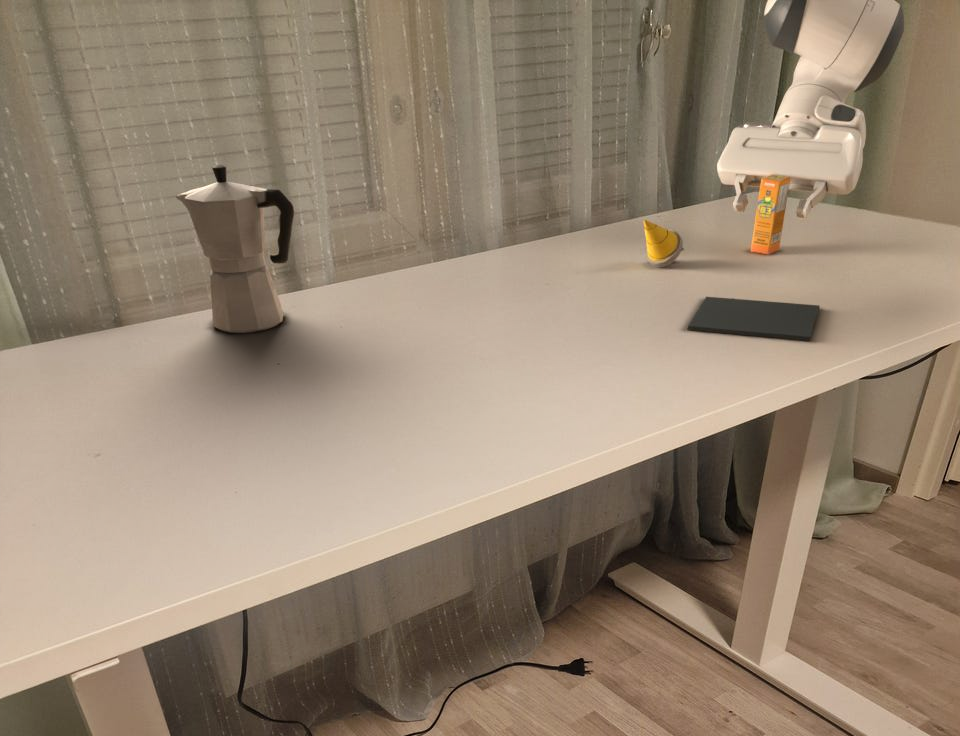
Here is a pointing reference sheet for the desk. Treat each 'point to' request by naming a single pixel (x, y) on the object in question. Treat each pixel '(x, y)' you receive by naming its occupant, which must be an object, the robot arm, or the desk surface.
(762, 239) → the supplement box
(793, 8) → the robot arm
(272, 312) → the coffeepot
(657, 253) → the yellow cone on disc
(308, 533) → the desk surface
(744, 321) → the mat
